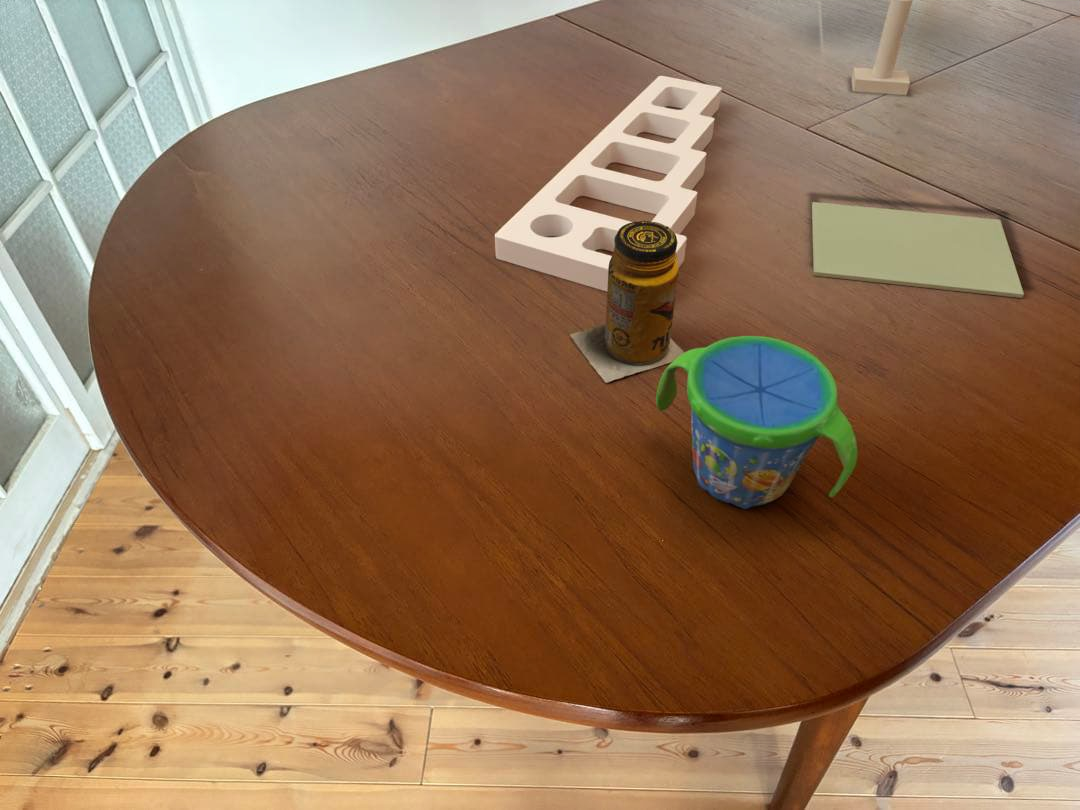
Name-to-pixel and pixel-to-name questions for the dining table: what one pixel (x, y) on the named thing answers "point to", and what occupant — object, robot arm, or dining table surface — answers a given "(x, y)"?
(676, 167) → the holder
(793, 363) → the snack cup
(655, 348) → the condiment
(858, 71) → the brush
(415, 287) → the dining table surface
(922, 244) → the mat
